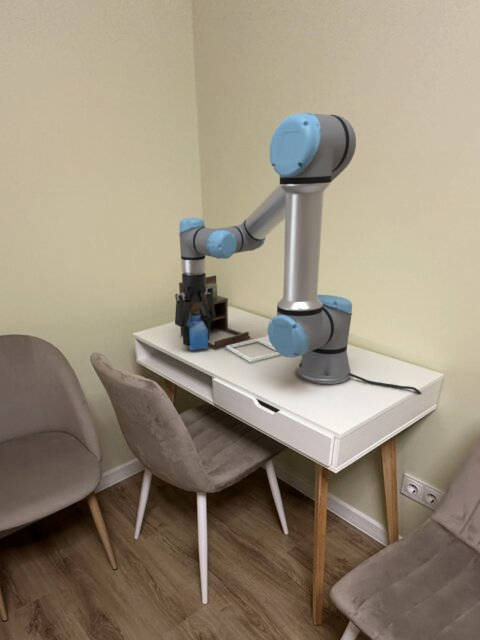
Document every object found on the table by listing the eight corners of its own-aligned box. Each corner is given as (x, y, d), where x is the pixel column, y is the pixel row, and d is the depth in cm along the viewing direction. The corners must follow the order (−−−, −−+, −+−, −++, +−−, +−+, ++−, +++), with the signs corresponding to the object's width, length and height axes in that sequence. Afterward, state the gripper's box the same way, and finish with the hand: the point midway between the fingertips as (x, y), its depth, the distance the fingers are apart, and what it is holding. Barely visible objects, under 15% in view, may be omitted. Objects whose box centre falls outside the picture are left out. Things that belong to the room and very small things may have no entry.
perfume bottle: (185, 343, 161) (183, 309, 155) (202, 341, 163) (201, 307, 157) (190, 350, 156) (188, 314, 150) (208, 347, 158) (207, 312, 152)
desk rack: (249, 338, 169) (250, 284, 159) (215, 349, 160) (214, 293, 150) (215, 325, 181) (214, 275, 172) (181, 335, 172) (178, 282, 163)
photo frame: (295, 347, 157) (250, 358, 149) (294, 350, 158) (250, 362, 150) (269, 335, 168) (226, 345, 160) (269, 338, 168) (226, 348, 161)
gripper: (211, 265, 156) (212, 332, 167) (159, 275, 144) (165, 346, 156) (226, 269, 151) (226, 337, 162) (173, 279, 139) (178, 352, 151)
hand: (196, 341), depth 159 cm, fingers closed on perfume bottle, 8 cm apart
